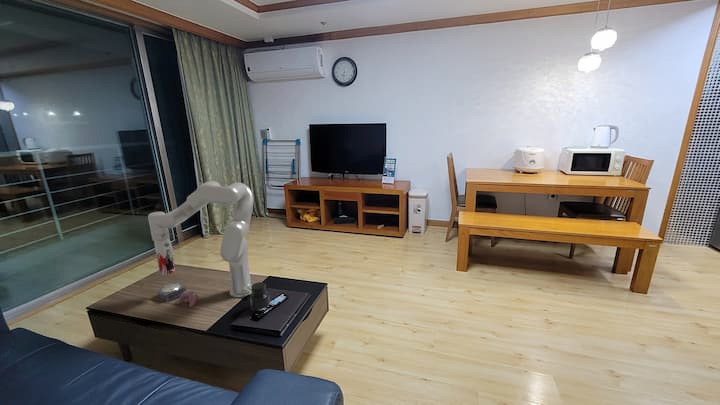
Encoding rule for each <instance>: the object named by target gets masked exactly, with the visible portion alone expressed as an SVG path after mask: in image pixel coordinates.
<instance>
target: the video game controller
mask: <svg viewBox="0 0 720 405" xmlns="http://www.w3.org/2000/svg"><path fill="white" fill-rule="evenodd" d="M198 299H199V295H198V293H196V292H195V291H193V290H188V291H187V290H186V292H183V293H182V294H181V296H180V297H178V298H177V301H176V304H177V305H180V304H181V303H182V302H183V301H184V302H185V303H189V307H190V308H192V307H194V305H196V302H197V301H198Z"/></svg>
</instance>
